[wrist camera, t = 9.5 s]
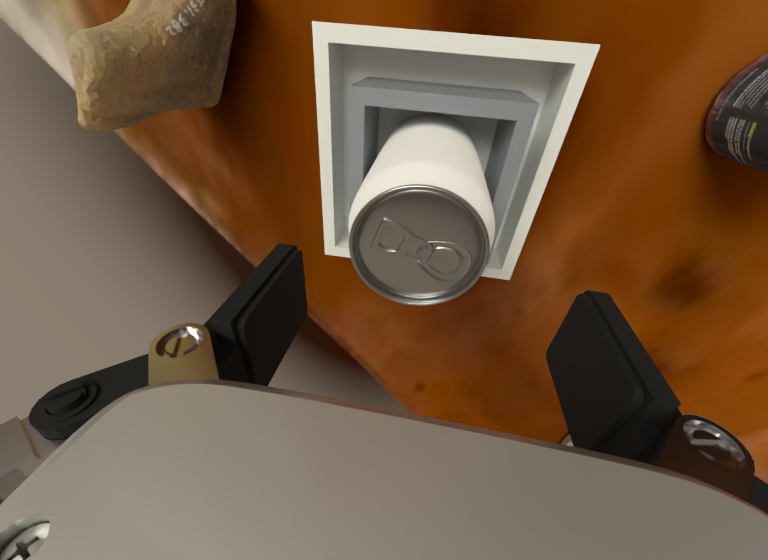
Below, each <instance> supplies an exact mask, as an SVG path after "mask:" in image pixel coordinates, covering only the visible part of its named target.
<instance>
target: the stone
mask: <svg viewBox="0 0 768 560" xmlns="http://www.w3.org/2000/svg"><path fill="white" fill-rule="evenodd" d="M236 4H237V0H131V1H130V3H129V5H128V7H127V9H126V10H125V12H124V14H122V15H120V16H119V17H118V18H117V19H114V20H113V21H112V22H107V23H105V24H103V25H100V26H96V27H92V28H85V29H82V30H79V31H77V32H75V33H74V34H73V35H72V36H71V37H70V40H69V42H68V45H67V46H68V54H69V59H70V64H71V68H72V72H73V77H74V80H75V90H76V98H77V102H78V103H77V105H78V121H79V123H80V125H81V126H82V127H83V128H85V129H87V130H90V131H94V132H108V131H111V130H115V129H119V128H123V127H128V126H130V125H133V124H136V123H139V122H141V121H142V120H144V119H148V118H149V117H150V116H154V115H157V114H160V113H162V112H165V111H171V110H186V109H197V108H201V107H206V108H207V107H213V106H215V105H217V104H218V102H219V101H220V97H221V94H222V88H223V84H224V79H225V74H226V71H227V66H228V59H229V54H230V49H231V43H232V39H233V34H234V30H235V24H236Z"/></svg>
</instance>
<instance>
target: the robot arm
mask: <svg viewBox="0 0 768 560" xmlns="http://www.w3.org/2000/svg"><path fill="white" fill-rule="evenodd" d="M306 314H307V300H306V289H305V278H304V268H303V257H302V252H301V251H300V250H298V249H297V247H296V246H294V245H288V244H281V243H280V244H278V245H277V246H276V247H275V248H274V249H273V250H272V251H271V252H270V254H269V255H268V256H267V257H266V258H265V259H264V260H263V261H262V262H261V263H260V265H259V266H258V267H257V268H256V269H255V270H254V271H253V272H252V273H251V275H250V276H249V277H247V278H246V279H245V280H244V281H243V282H242V284H241V285H240V286H239V287H238V288H237V289H236V290H235V291H234V292H233V293H232V294H231V296H230V297H229V298H228V299H227V300H226V301H225V302H224V303H223V304H222V305H221V307H220V308H219V309H218V310H217V311H216V312H215V313H214V314H213V315H212V316H211V317H210V319H209V320H208V321H207V322H206V323H205V324H204V325H199V324H195V323H187V324H181V325H177V326H174V327H171V328H169V329H167V330H165V331H164V332H162V333H160V334H159V335H158V336H157V337H156V338H154V340H153V341H152V343H151V345H150V347H149V352H148V354H146V355H143V356H140V357H137V358H134V359H132V360H129V361H126V362H123V363H120V364H117V365H114V366H111V367H108V368H105V369H102V370H99V371H96V372H94V373H91V374H88V375H85V376H82V377H79V378H76V379H74V380H70V381H68V382H66V383H63V384H61V385H59V386H57V387H56V388H54V389H52V390H51V391H49V392H48V393H47V394H46V395H44V396H43V397H42V398H41V399H39V400H38V402H37V403H36V404H35V405H34V407H33V408H32V410H31V412H30V414H29V416H28V417H26V418H24V419H22V420H20V419H19V418H18V417H17V416H16V417H14V418H13V419H11V420H9V421H7V422H5V423H3V424H1V425H0V560H768V484H766V483H765V482H763V481H762V480H760V479H759V478H758V477H756V476H755V475H754V474H755V463H754V460H753V458H752V456H751V454H750V452H749V451H748V450H747V449H746V447H745V446H744V445H743V444H742V443H741V442H740V441H739V440H738V439H737V438H736V437H735V436H734V435H733V434H731V433H730V432H729V431H727V430H726V429H724V428H723V427H721V426H720V425H718V424H716V423H714V422H712V421H711V420H709V419H706V418H703V417H700V416H697V415H690V414H686V415H682V414H681V412H680V411H679V409H678V408H677V407H678V406H679V405H680V404H681V403H680V402H679V400H678V399H677V397H676V396H675V394H674V393H673V391H672V390H671V388H670V387H669V385H668V384H667V382H666V380H665V379H664V377H663V376H662V374H661V373H660V371H659V370H658V368H657V367H656V365H655V364H654V362H653V361H652V359H651V358H650V356H649V355H648V353H647V351H646V350H645V348H644V347H643V345H642V344H641V342H640V341H639V339H638V338H637V336H636V335H635V333H634V332H633V330H632V329H631V327H630V326H629V324H628V322H627V321H626V319H625V318H624V316H623V315H622V313H621V312H620V310H619V309H618V307H617V306H616V304H615V303H614V301H613V300H612V298H611V297H610V295H609V294H607V293H602V292H596V291H589V290H588V291H585V292H584V293H583V294H579V295H578V296H577V297H576V299H575V300H574V302H573V304H572V306H571V308H570V310H569V311H568V313H567V315H566V317H565V319H564V320H563V322H562V324H561V326H560V328H559V330H558V331H557V333H556V335H555V337H554V339H553V341H552V342H551V344H550V346H549V348H548V350H547V354H546V359H547V363H548V366H549V369H550V372H551V376H552V379H553V382H554V385H555V389H556V392H557V395H558V398H559V401H560V405H561V408H562V411H563V414H564V418H565V421H566V424H567V427H568V430H569V435H567V436H566V437H565V438H564V439H563V441H562V442H561V444H559V443H554V442H549V441H544V440H539V439H534V438H529V437H524V436H519V435H515V434H510V433H505V432H500V431H495V430H490V429H485V428H480V427H475V426H470V425H465V424H460V423H455V422H450V421H445V420H440V419H435V418H430V417H425V416H420V415H415V414H410V413H404V412H400V411H395V410H390V409H385V408H380V407H375V406H369V405H364V404H359V403H354V402H349V401H344V400H338V399H333V398H328V397H323V396H317V395H312V394H307V393H302V392H297V391H291V390H285V389H279V388H274V387H268V384H269V382H270V381H271V379H272V377H273V375H274V373H275V372H276V370H277V368H278V366H279V364H280V362H281V361H282V359H283V357H284V355H285V354H286V352H287V350H288V348H289V346H290V344H291V343H292V341H293V339H294V337H295V335H296V334H297V332H298V330H299V328H300V326H301V325H302V323H303V321H304V319H305V317H306Z"/></svg>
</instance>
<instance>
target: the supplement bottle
mask: <svg viewBox="0 0 768 560" xmlns="http://www.w3.org/2000/svg"><path fill="white" fill-rule="evenodd" d="M705 135H706V139H707V142H708V144H709V145H710V147H711V148H712V149H713V150H714V151H715V152H717V153H718V154H720V155H722V156H724V157H726V158H729V159H731V160H734V161H736V162H738V163H741V164H744V165H746V166H749V167H751V168H754V169H756V170H759V171H761V172H764V173H766V174H768V53H767V54H765V55H763V56H761V57H760V58H758V59H756V60H755V61H753V62H752V63H751V64H749V65H748V66H747V67H745V68H744V69H742V70H741V71H740V72H739V73H738V74H736V75H735V76H734V77H733V78H732V79H731V80H730V81H729V82H728V83H727V84H726V85H725V87H724V88H723V89H722V90H721V91H720V93H719V94H718V96H717V97H716V99H715V100H714V102H713V104H712V106H711V108H710V110H709V113H708V115H707V118H706V124H705Z"/></svg>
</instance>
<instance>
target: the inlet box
mask: <svg viewBox="0 0 768 560" xmlns="http://www.w3.org/2000/svg"><path fill="white" fill-rule="evenodd" d="M312 29H313V47H314V65H315V83H316V101H317V119H318V137H319V155H320V173H321V191H322V209H323V226H324V244H325V254H327V255H334V256H341V257H348V258H351V257H350V252H349V227H348V224H349V215H350V210H351V207H352V204H353V201H354V199H355V197H356V194H357V192H358V190H359V189H360V187H361V185H362V183H363V181H364V179H365V178H366V176H367V174H368V172H369V171H370V169H371V167H372V165H373V163H374V162H375V160H376V158H377V157H378V155H379V153H380V151H381V150H382V148H383V146H384V145H385V143H386V141H387V140H388V138H389V136H390V135H391V134H392V132H393V131H394V130H395V129H396V128H397V127H398V126H399V125H400V124H401V123H403V122H404V121H406V120H407V119H409V118H411V117H413V116H416V115H419V114H424V113H438V114H443V115H446V116H449V117H451V118H453V119H455V120H456V121H458V122H459V123H460V124H461V125H462V126H463V127H464V128H465V129H466V130H467V131H468V133H469V134H470V136H471V138H472V140H473V142H474V145H475V148H476V151H477V154H478V157H479V160H480V164H481V167H482V170H483V174H484V177H485V181H486V184H487V188H488V191H489V195H490V199H491V202H492V206H493V211H494V217H495V235H494V241H493V244H492V247H491V250H490V252H489V257H488V261H487V265H486V267H485V269H484V271H483V273H482V275H481V276H483V277H490V278H497V279H504V280H510V278H511V275H512V272H513V270H514V267H515V265H516V262H517V260H518V257H519V254H520V252H521V249H522V247H523V244H524V241H525V239H526V236H527V234H528V231H529V228H530V226H531V223H532V221H533V218H534V216H535V213H536V210H537V208H538V205H539V203H540V200H541V197H542V195H543V192H544V190H545V187H546V185H547V182H548V179H549V177H550V174H551V172H552V169H553V166H554V164H555V161H556V159H557V156H558V154H559V151H560V148H561V146H562V143H563V141H564V138H565V135H566V133H567V130H568V128H569V125H570V123H571V120H572V117H573V115H574V112H575V110H576V107H577V104H578V102H579V99H580V97H581V94H582V91H583V89H584V86H585V84H586V81H587V79H588V76H589V73H590V71H591V68H592V66H593V63H594V60H595V58H596V55H597V53H598V50H599V48H600V45H598V44H585V43H573V42H561V41H548V40H536V39H524V38H512V37H499V36H487V35H475V34H462V33H450V32H438V31H426V30H413V29H401V28H389V27H376V26H364V25H352V24H339V23H327V22H315V21H312Z"/></svg>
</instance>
